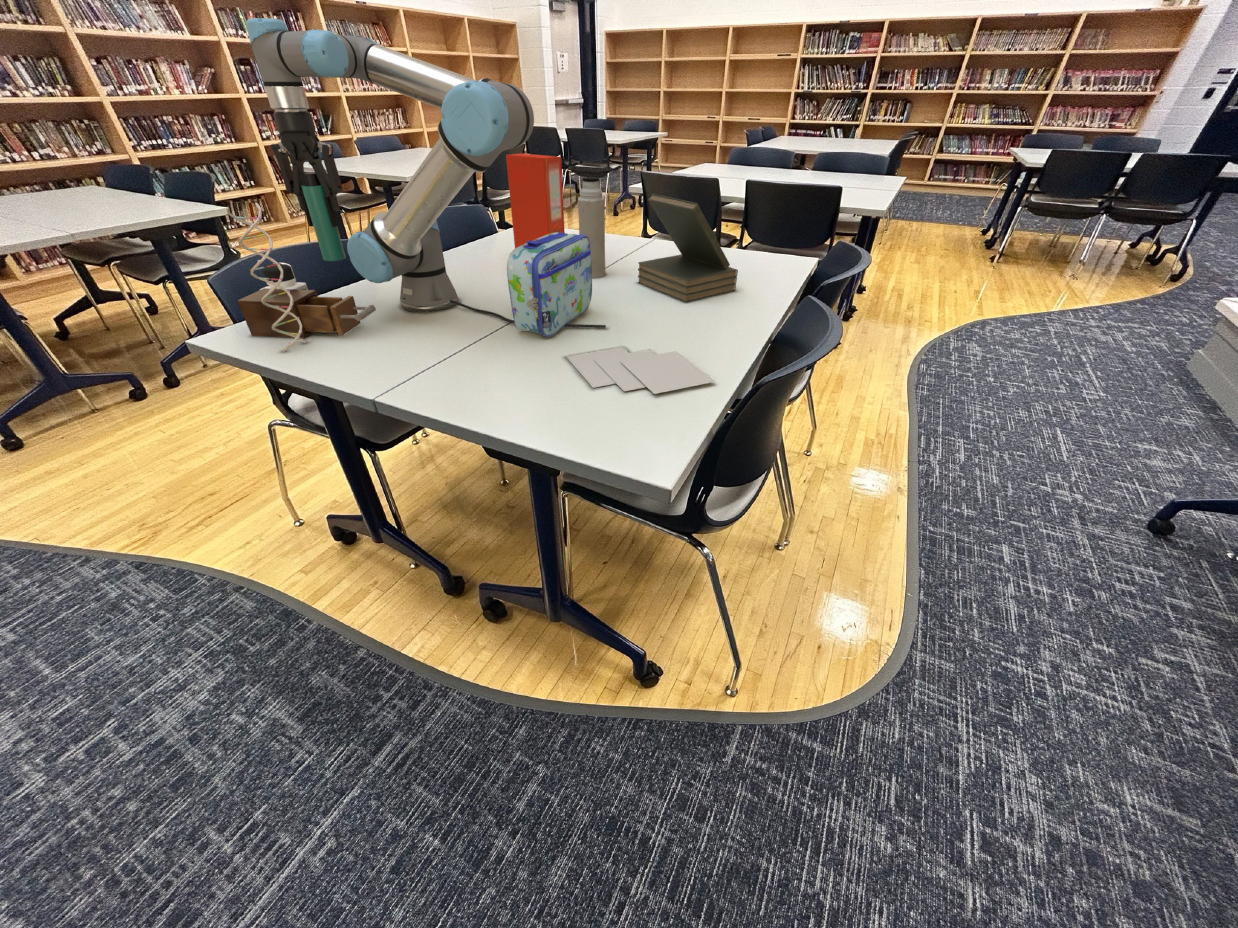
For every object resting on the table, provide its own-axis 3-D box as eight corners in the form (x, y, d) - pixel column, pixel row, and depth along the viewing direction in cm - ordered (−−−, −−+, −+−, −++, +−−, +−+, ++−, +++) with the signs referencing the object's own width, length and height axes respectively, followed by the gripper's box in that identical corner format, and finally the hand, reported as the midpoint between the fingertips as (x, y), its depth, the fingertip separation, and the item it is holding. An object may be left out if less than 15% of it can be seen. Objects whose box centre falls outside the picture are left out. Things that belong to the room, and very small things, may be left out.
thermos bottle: (575, 275, 171) (571, 177, 155) (591, 270, 177) (588, 175, 161) (595, 279, 168) (592, 180, 152) (610, 273, 173) (609, 177, 157)
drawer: (381, 324, 132) (374, 296, 128) (364, 336, 125) (356, 308, 122) (313, 321, 134) (304, 294, 130) (293, 333, 127) (283, 305, 123)
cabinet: (326, 324, 135) (315, 290, 130) (304, 338, 127) (291, 302, 122) (276, 322, 136) (263, 288, 131) (251, 336, 128) (236, 300, 123)
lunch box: (546, 344, 124) (538, 250, 112) (508, 336, 128) (497, 245, 116) (598, 310, 143) (596, 227, 131) (564, 305, 147) (559, 223, 135)
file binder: (532, 254, 194) (523, 153, 176) (566, 262, 185) (561, 156, 167) (515, 258, 189) (505, 155, 171) (549, 266, 180) (542, 158, 162)
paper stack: (609, 406, 99) (609, 403, 99) (565, 356, 118) (565, 353, 118) (715, 384, 107) (716, 381, 107) (659, 340, 126) (659, 338, 125)
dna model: (290, 355, 119) (234, 208, 101) (273, 349, 121) (215, 205, 104) (317, 345, 123) (268, 203, 106) (299, 339, 126) (249, 200, 109)
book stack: (735, 291, 158) (747, 198, 144) (685, 302, 149) (692, 205, 135) (685, 273, 174) (691, 188, 159) (637, 283, 165) (639, 193, 150)
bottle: (350, 256, 135) (326, 172, 124) (339, 261, 131) (314, 174, 120) (330, 255, 136) (305, 171, 125) (319, 261, 131) (292, 174, 121)
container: (296, 321, 136) (277, 269, 129) (270, 319, 137) (250, 267, 130) (316, 311, 142) (299, 261, 135) (290, 309, 143) (273, 259, 136)
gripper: (340, 110, 118) (368, 223, 131) (263, 110, 119) (299, 221, 133) (321, 111, 112) (353, 229, 125) (240, 111, 113) (280, 228, 127)
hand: (325, 225), depth 129 cm, fingers closed on bottle, 5 cm apart
